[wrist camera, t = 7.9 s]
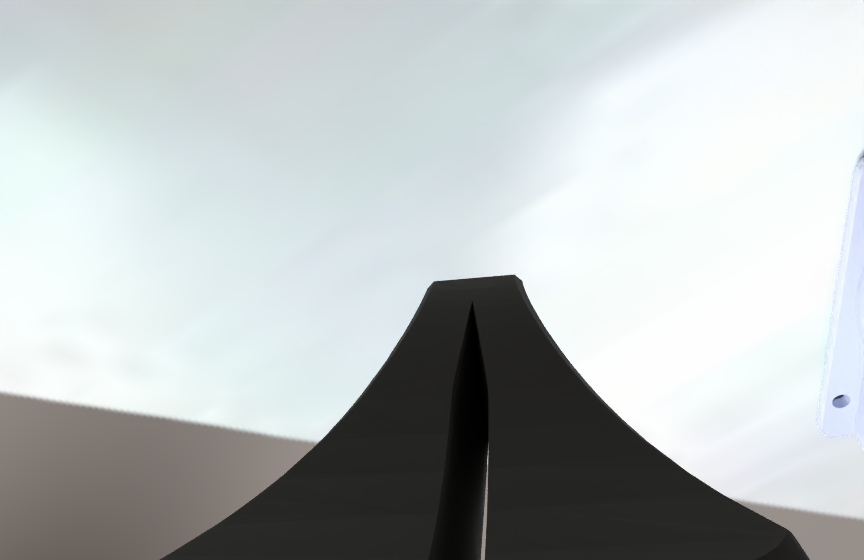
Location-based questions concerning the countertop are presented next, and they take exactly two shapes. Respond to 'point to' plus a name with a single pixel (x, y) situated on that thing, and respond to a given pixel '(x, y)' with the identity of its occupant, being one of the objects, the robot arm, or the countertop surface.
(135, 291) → the countertop surface
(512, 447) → the robot arm
